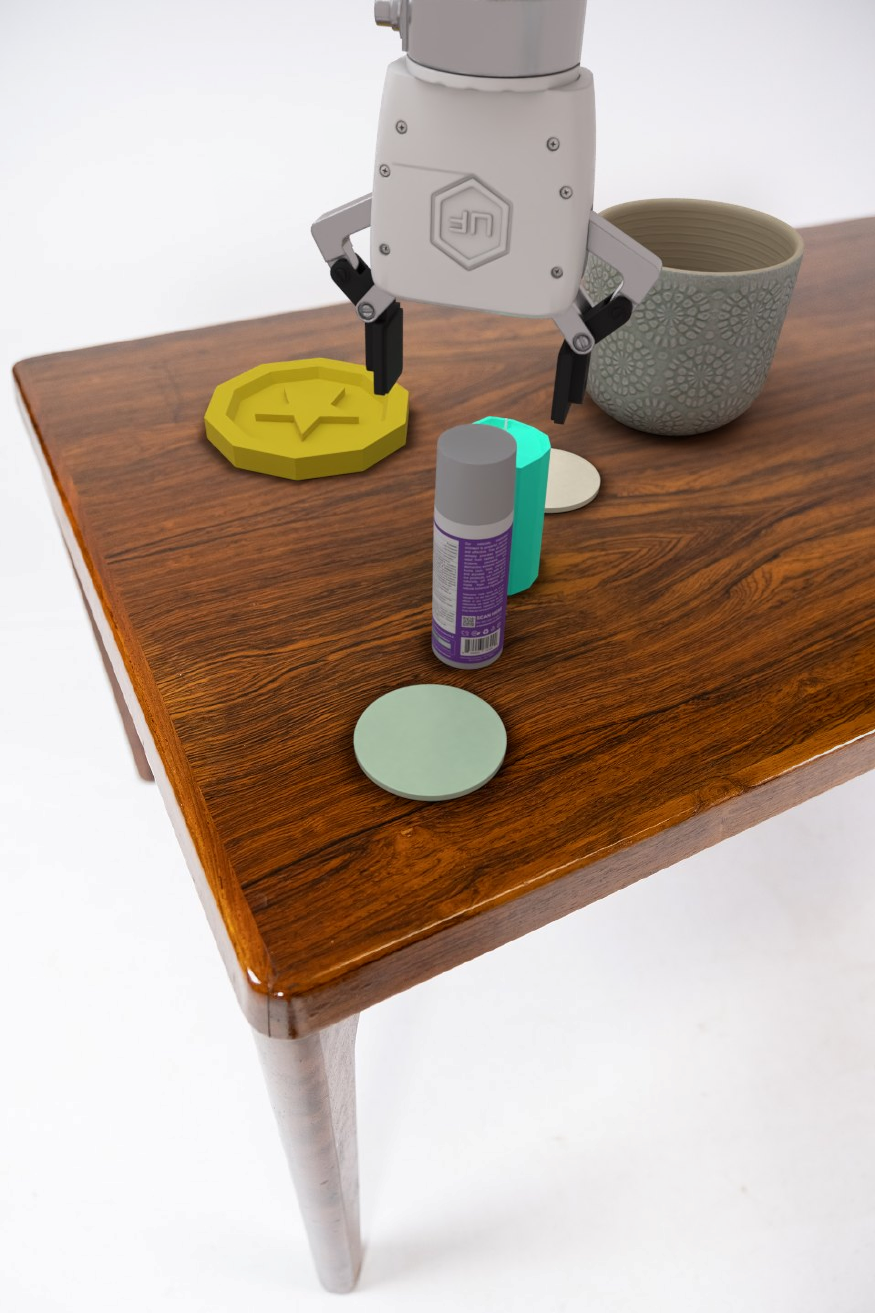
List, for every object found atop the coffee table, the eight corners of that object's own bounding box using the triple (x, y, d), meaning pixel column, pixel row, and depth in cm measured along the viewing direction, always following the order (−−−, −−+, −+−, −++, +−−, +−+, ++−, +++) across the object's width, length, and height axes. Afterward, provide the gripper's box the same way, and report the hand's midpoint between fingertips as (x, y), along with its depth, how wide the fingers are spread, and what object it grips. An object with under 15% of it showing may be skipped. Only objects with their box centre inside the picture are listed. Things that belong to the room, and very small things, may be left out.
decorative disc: (435, 460, 83) (435, 439, 82) (219, 491, 79) (216, 468, 78) (385, 370, 95) (385, 350, 94) (196, 392, 91) (193, 371, 90)
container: (510, 629, 67) (527, 429, 57) (493, 676, 64) (509, 471, 54) (442, 616, 68) (447, 416, 58) (423, 661, 65) (424, 457, 55)
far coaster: (607, 461, 84) (608, 456, 83) (590, 521, 77) (590, 516, 77) (500, 445, 85) (501, 440, 85) (475, 502, 79) (475, 497, 78)
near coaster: (520, 705, 62) (521, 700, 62) (486, 816, 56) (487, 810, 55) (380, 677, 64) (380, 671, 64) (332, 782, 57) (331, 776, 57)
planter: (779, 390, 93) (825, 218, 83) (731, 477, 82) (776, 290, 72) (606, 350, 99) (629, 185, 89) (539, 426, 88) (555, 247, 77)
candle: (443, 553, 74) (447, 403, 66) (520, 539, 75) (533, 391, 67) (470, 602, 70) (477, 449, 62) (551, 587, 71) (568, 435, 63)
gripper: (270, 31, 42) (298, 405, 53) (692, 72, 39) (624, 459, 50) (332, -2, 47) (345, 345, 59) (707, 31, 44) (642, 390, 56)
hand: (473, 397), depth 55 cm, fingers open, 9 cm apart
